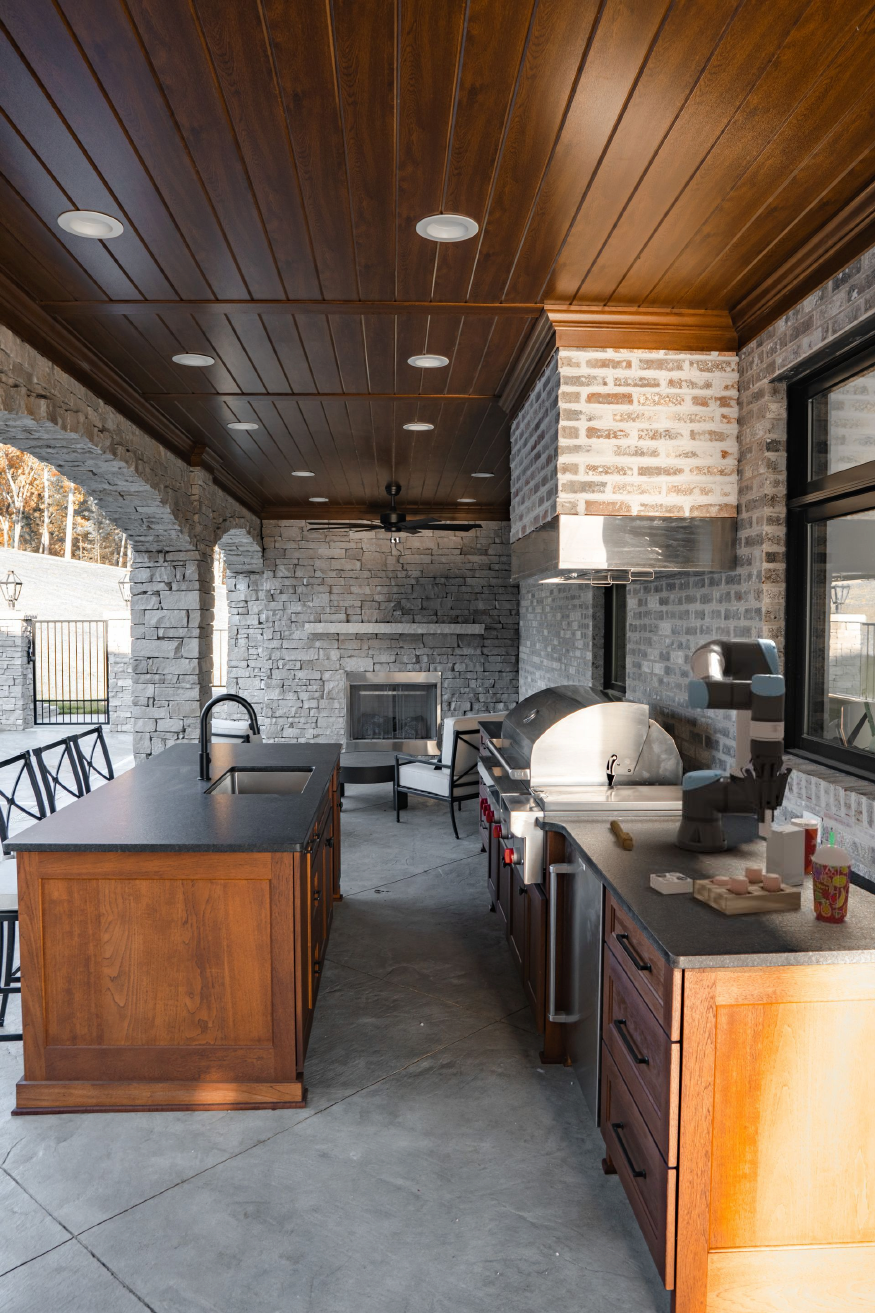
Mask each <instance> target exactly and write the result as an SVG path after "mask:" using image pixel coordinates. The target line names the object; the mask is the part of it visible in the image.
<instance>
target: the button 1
mask: <svg viewBox="0 0 875 1313" xmlns="http://www.w3.org/2000/svg"><path fill="white" fill-rule="evenodd" d="M729 878H730V877H728V876H725V875H724V876H722V875H717V876H715V877H713V878H712V879H713V884H715V885H717V886H731V880H730V879H729Z"/></svg>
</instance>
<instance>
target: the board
mask: <svg viewBox="0 0 875 1313" xmlns="http://www.w3.org/2000/svg"><path fill="white" fill-rule="evenodd" d="M763 875H764V874H762V883H757V884H750V883H748V894H747V895H735V894H733V893H731V892H730V887H731V886H717V885H715V884H713V878H706V879H695V880H693V897H695V898H697V899H698V900H700V901H702V902H703V903H706V905H707V904H708V905H709V906H712V907H713V908H714V909H717V910H718V911H720V912H722V913H723V914H725V915H728V916H729V915H740V914H751V913H762V912H773V911H775V912H776V911H785V910H786V911H787V910H795V909H796V910H797V909H801V908H802V907H801V906H802V891H801V890H798V889H796V888H794V887H793V886H787V885H785V884H783V883H781V892H771V893H769V892H767V891H765V890H763ZM743 877H745V875H744V876H743ZM728 878H729V879H730V880H731V877H728Z"/></svg>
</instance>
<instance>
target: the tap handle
mask: <svg viewBox="0 0 875 1313" xmlns="http://www.w3.org/2000/svg"><path fill="white" fill-rule="evenodd" d="M609 826H610V828H611V829H613V830H612V831H613V832H614V834H616V836H617V840H618V841H619V842H620V843H619V842H618V843H619V844H621V845H622V846H621V845H620V846H621V848H623V847H625V848H624V849H626V850H627V849H628V850H627V851H632V850H633V849H634V847H635V844H634V838H633V837H632V836H631V834H630V833H629V832H628V831H627V832H625V831H624V830H623V828H622V827H621V825H620V823H619V822H618V821H617V820H611V821H610V823H609ZM625 840H626V841H625ZM631 849H632V850H631Z"/></svg>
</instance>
